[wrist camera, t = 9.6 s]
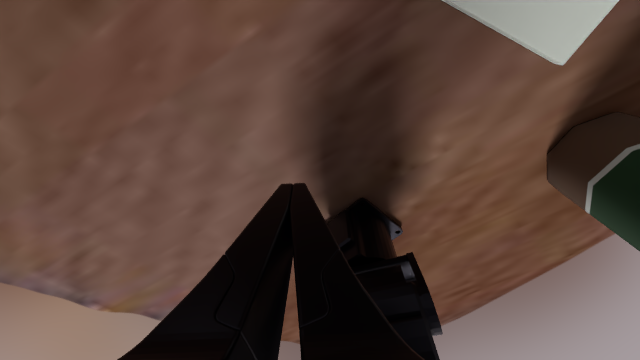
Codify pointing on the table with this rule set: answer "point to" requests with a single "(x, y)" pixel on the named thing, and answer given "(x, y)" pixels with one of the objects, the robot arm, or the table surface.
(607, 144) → the beer bottle
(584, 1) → the napkin
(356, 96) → the table surface
